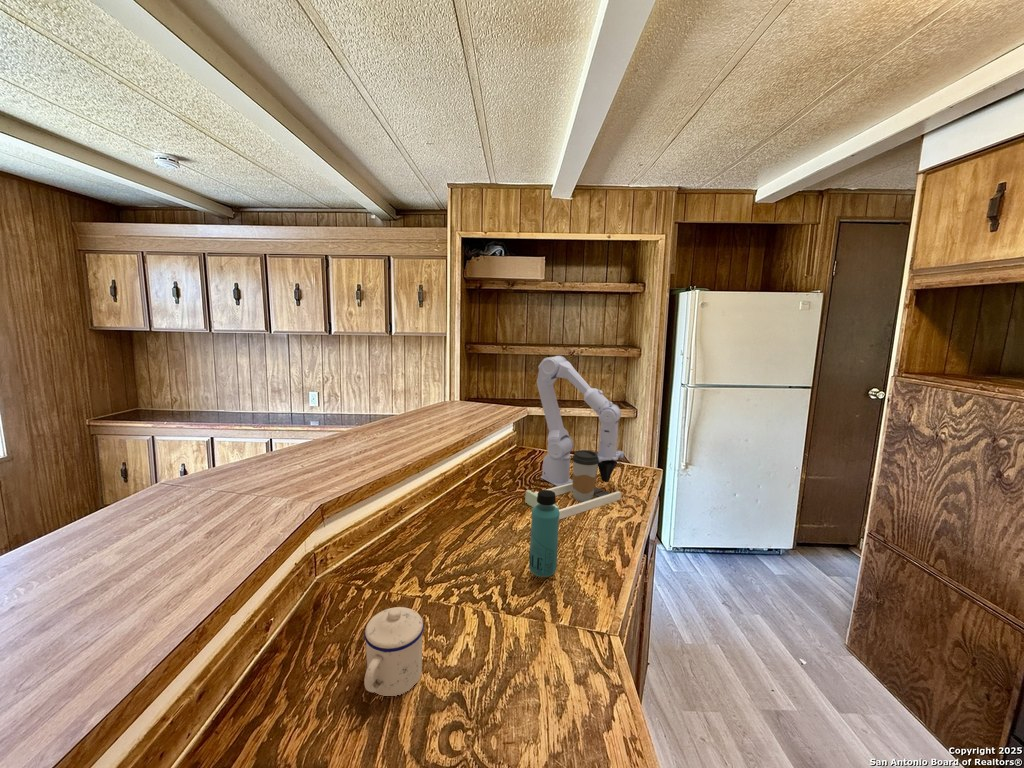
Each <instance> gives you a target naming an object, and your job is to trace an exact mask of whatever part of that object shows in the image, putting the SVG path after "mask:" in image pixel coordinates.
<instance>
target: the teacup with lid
mask: <svg viewBox="0 0 1024 768" xmlns="http://www.w3.org/2000/svg"><path fill="white" fill-rule="evenodd" d="M424 624H425V623H424V620H423V619H422V616H421V615H420V614H419V613H418V612H417V611H416V610H413V609H411V608H410V607H409V608H408V607H403V606H399V607H398V606H397V607H395V606H394V607H391V608H386V609H384V610H382V611H380V612H378V613H376V614H375V615H374V616H372V618H371V619H370V620H369V621H368V623H367V624H366V627H365V629H364V640H365V646H366V647H365V648H366V649H365V650H366V651H365V652H366V653H365V656H366V658H365V660H366V661H365V662H366V664H365V665H366V671H365V675H364V679H363V680H364V681H363V682H364V684H363V685H364V688H365V689H366V691H368V692H369V693H374V692H375V693H377V694H379V695H383V696H395V697H398V696H397V695H399V696H402V695H404V694H406V693H407V691H408V692H409V691H411V690H412V689H413V688H414V687H415V686H416V685H417V684H418V682H419V681H420V679H421V677H422V674H423V632H424V630H425V629H424V627H425V625H424ZM416 683H417V684H416ZM415 684H416V685H415ZM414 685H415V686H414ZM413 686H414V687H413ZM412 687H413V688H412ZM411 688H412V689H411ZM410 689H411V690H410ZM405 692H406V693H405ZM375 693H374V694H375ZM403 693H404V694H403ZM377 694H376V695H377ZM401 694H402V695H401ZM379 695H378V696H379ZM383 696H382V697H383Z"/></svg>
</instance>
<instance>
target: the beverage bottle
mask: <svg viewBox="0 0 1024 768" xmlns="http://www.w3.org/2000/svg"><path fill="white" fill-rule="evenodd" d="M537 492H538V496H537V502H538V503H539V504H538V505H536V506H535V507H534V508H533V507H532V509H531V522H530V523H531V524H530V526H529V527H530V529H529V531H530V532H529V533H530V534H529V536H530V539H529V540H530V541H529V553H528V568H529V571H530V572H531V573H532V574H533V575H535V576H536V577H537V576H538V577H542V578H549V577H551V576H553V575H554V574H555V573H556V572H557V566H558V560H559V559H558V558H559V556H558V548H559V545H558V543H559V541H558V540H559V524H560V520H559V515H560V512H559V510H560V509H559V510H558V509H557V508H556V507H555V506H554V505H553V504H555V505H556V502H557V499H556V496H555V493H554V492H553V491H550V490H546V489H541V490H539V491H537Z"/></svg>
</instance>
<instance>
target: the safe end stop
mask: <svg viewBox="0 0 1024 768" xmlns="http://www.w3.org/2000/svg"><path fill="white" fill-rule="evenodd" d="M524 496H525V497H524V498H525V500H524V503H525V504H526V503H527V504H526V505H528V506H530V507H531V508H532V509H533V508H534V507H535V506H536V505H538V504H539V503H538V502H537V496H538V495H537V494H535V492H533V491H531V490H530V489H527V490H525V495H524ZM553 505H554V506H555V507H556V508H557V509H558V510H560V507H559V505H556V503H555V504H553Z"/></svg>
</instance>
